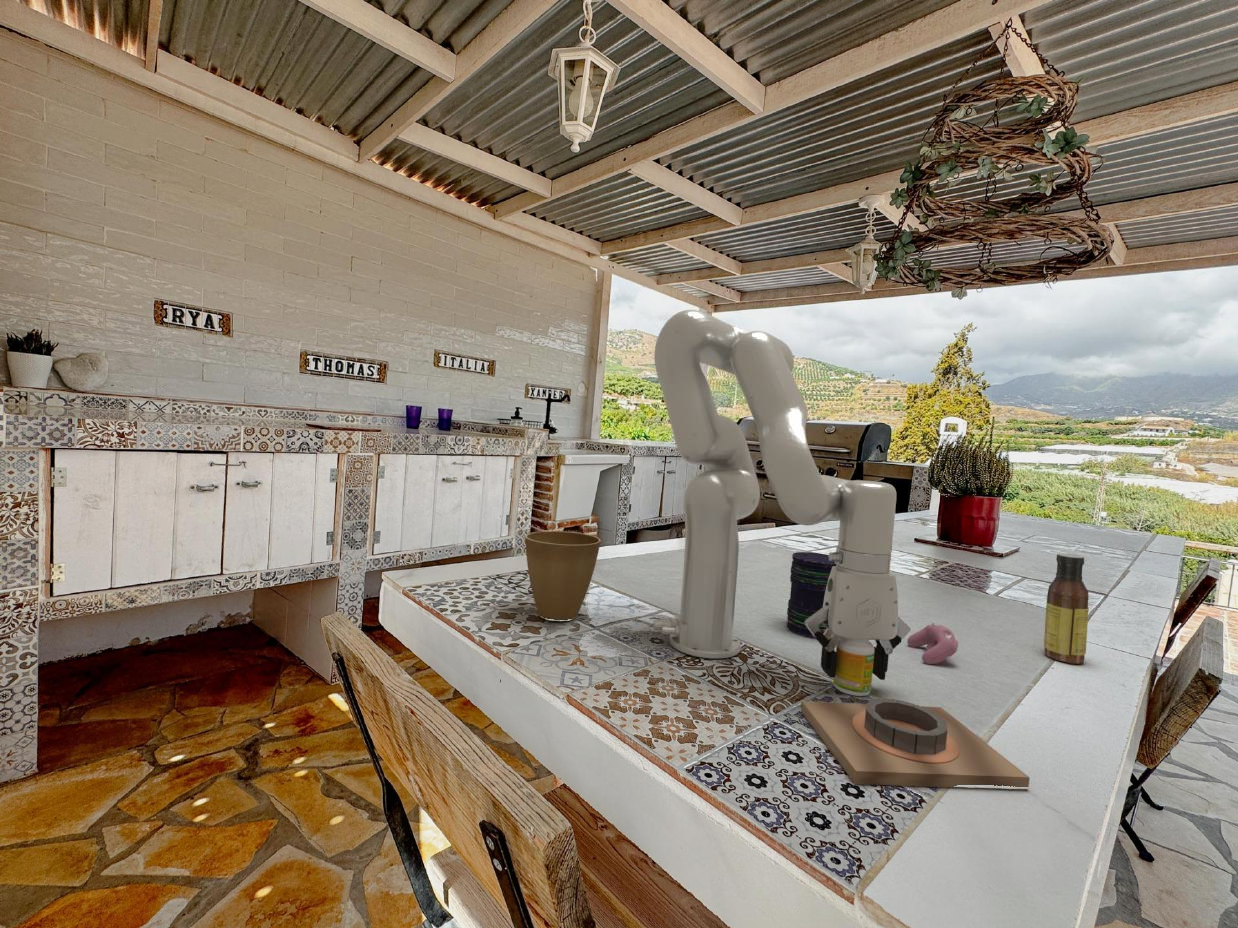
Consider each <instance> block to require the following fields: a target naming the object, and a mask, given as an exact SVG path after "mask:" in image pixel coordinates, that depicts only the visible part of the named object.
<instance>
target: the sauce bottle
mask: <svg viewBox="0 0 1238 928" xmlns="http://www.w3.org/2000/svg"><path fill="white" fill-rule="evenodd" d="M1056 562H1057V563H1056V564H1057V565H1056V573H1055V578H1053V581H1052V582H1051V583H1050V584H1049V586H1048V591H1047V594H1046V595H1047V596H1046V608H1045V617H1044V619H1045V620H1044V621H1045V622H1044V637H1043V638H1044V639H1043V647H1044V654H1045V655H1046V656H1047V657H1048V658H1050V659H1052V660H1055V661H1058V662H1062V663H1066V664H1073V665H1080V664H1081V665H1082V664H1084V661H1085V657H1086V654H1087V644H1088V643H1087V639H1088V622H1089V611H1090V610H1089V590H1088V588H1087V586H1086V585H1085V583H1084V581H1083V567H1084V564H1085V557H1084V556H1083V555H1078V554H1072V553H1062V552H1060V553H1057V554H1056Z"/></svg>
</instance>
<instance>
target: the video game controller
mask: <svg viewBox="0 0 1238 928" xmlns="http://www.w3.org/2000/svg"><path fill="white" fill-rule="evenodd" d="M906 642H907V644H908V646H909V647H910V648H921V647H924V646H926V648H925V650H926V651H925V652H923V654H922V657H921V659H922V661H923V663H924V664H927V665H936V664H939V663H942V662H943V661H945V660H947V659H948V658H950V657H951V656H954V654H956V653H957V651H958V648H959V642H958V640H957V639H956V636H955V634H954V633H953V632H952V630H950V629H949V628H948V627H946V626H943V625H941V624H935V623H934V622H932V623H931V624H928V625H926V626H925V627H924V628H922V629H920V630H919V631H917V632H915V633H912V634H911V635H910V636H908V638H907V641H906Z"/></svg>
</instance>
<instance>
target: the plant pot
mask: <svg viewBox="0 0 1238 928" xmlns="http://www.w3.org/2000/svg"><path fill="white" fill-rule="evenodd" d="M524 540H525V543H524V544H525V553H526V555H525V556H526V561H527V570H528V576H529V582H530V583H529V584H530V588H531V592H532V596H533V600H534V604H535V608H536V611H537V614H538V616H539V615H540V616H542V617H544V618H547V619H554V620H568V619H573V618H575V617H576V616H578V614H579V612H580V610H581V608H582V605H583V604H584V603H583V602H584V600H585V598H586V595H587V594H588V593H587V592H588V590H589V588H590V584H591V581H592V579H593V574H594V571H595V568H596V565H597V560H598V556H599V550H600V546H601V541H602V540H601V539H600V538H599V537H597V536H595V535H590V534H586V533H582V532H574V531H561V530H560V531H559V530H544V531H543V530H542V531H534V532H529V533H526V534H525V536H524ZM576 618H577V617H576ZM576 618H575V619H576Z"/></svg>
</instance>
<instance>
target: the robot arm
mask: <svg viewBox="0 0 1238 928" xmlns="http://www.w3.org/2000/svg"><path fill="white" fill-rule="evenodd" d="M794 362H795V361H794V354H793V353H792V350H791V348H790V347H789V345H788V344H786V343H785V342H784V341H783V340H781V339H779V338H777V337H776V336H774V335H772V334H770V333H768V332H766V331H761V330H753V331H749V330H745V329H742V328H740V327H736V326H734V325H732V324H729V323H727V322H724V321H722V320H721V319H719V318H717V317H715V316H713V315H711V314H709V313H706V312H704V311H701V310H696V309H686V310H682V311H679V312H676V313H675V314H674V315H672V316H671V317H670V318H669V319H668V320H667V321H666V322H665V323H664V325H663V327H662V328H661V329H660V332H659V334H658V336H657V339H656V343H655V347H654V367H655V371H656V375H657V378H658V379H657V380H658V382H659V385H660V389H661V392H662V395H663V398H664V402H665V405H666V411H667V415H668V418H669V422H670V423H669V424H670V427H671V430H672V434H673V438H674V442H675V444H676V445H675V446H676V449H677V451H678V454H679V456H680V457H681V459H683V460H684V461H685V462H686V463H689V464H692V465H698V466H704V468H705V469H704V470H705V471H703V472H701V473H699V474H697V475H696V476H694V477H693V478H692V479H691V480H690V481H689V483H688V484H687V486H686V489H685V491H684V494H683V495H684V496H683V513H684V527H685V534H684V536H685V537H684V539H685V540H684V551H683V552H684V553H683V571H682V572H683V573H682V586H681V587H682V588H681V598H680V600H681V601H680V612H679V613H677V614H675V615H676V617H675V618H671V619H670V620H664V619H655V618H654V619H653V624H652V625H653V626H652V627H653V631H661V635H669V643H670V646H672V647H673V648H674V649H676V650H677V651H679V652H681V653H684V654H686V655H690V656H691V657H692V656H693V657H697V658H702V659H714V660H715V659H728V658H731V657H734V656H737V655H738V654H739V653H740V652H741V646H742V644H741V641H740V640H739V639H738V638H737V637H735V635H733V634H734V633H733V631H734V623H735V622H734V619H735V607H736V597H737V596H736V594H737V581H738V580H737V579H738V571H739V570H738V569H739V552H740V551H739V550H740V540H739V530H738V520H741V519H742V520H743V519H745V518H747V517H749V516H750V515H752V514H753V513H754V511H756V509H757V507H758V506H759V502H760V499H761V491H760V485H759V481H758V477H757V473H756V469H755V466H754V463H753V460H752V456H751V453H750V449H749V446H748V443H747V439H746V436H745V434H744V433H743V432H744V431H743V430H742V429H741V428H740V426H739V424H737V422H735V421H734V419H732V418H730V417H727V416H724V415H720V414H719V413H718V410H717V408H716V404H715V402H714V398H713V394H712V391H711V387H710V384H709V383H708V380H707V377H706V376H705V374H704V372H703V370H702V367H701V364H704V365H706V366H709V367H711V368H712V367H713V368H715V369H717V370H718V369H719V370H721V371H724V372H726V373H729V374H731V375H733V376H735V378H736V381H737V383H738V385H739V387H740V389H741V392H742V395H743V397H744V400H745V401H746V403H747V407H748V409H749V410H750V413H751V416H752V418H753V420H754V422H755V423H754V424H755V426H756V428H757V431H758V436H757V437H758V444H759V449H760V455H761V457H760V458H761V460H762V461H761V462H762V464H763V468H764V469H763V470H764V471H765V474H766V477H767V479H768V482H769V484H770V487H771V489H772V491H773V494H774V496H775V498H776V501H777V503H778V504H779V507H780V509H781V511H782V512H783V513H784V514H785V515H786V517H787V518H789V519H790V520H791V521H793V523H796V524H798V525H803V526H813V525H819V524H821V523H824V522H829V521H839V529H838V541H837V547H836V548H835V549H836V550H835V551H834V552H833V551H831V552H829V553H828V555H829V560H830V561H834V562H835V564H836V566H833V567H832V569H831V572H830V575H829V579H828V582H827V586H826V591H825V596H824V602H823V608H821V609H820V610H819V611H817V612H816V613H815V614H813V615H812V616H810V617H809V618H808V619H806V620H805V625H806V626H807V628H808V629H809V630H810V632H811V633H812V635H813V636H814V637H815V638H816V639H815V640H816V641H817V642H818V643H819V644H820V646H821V657H820V667H821V669H822V671H823V672H824V674H826V675H827V676H828V677H829V678H832V679H834V677H835V674H836V663H837V653H836V650H835V649H836V646H837V644H838V642H839V641H840V639H841V638H848V639H867V640H869V641H870V640H871V641H874V643H875V646H874V661H873V672H872V675H874V676H875V677H876V678H878V679H879V680H881V681H885V680H886V673H887V672H888V665H889V657H890V655H892V654H893V653H894V650H895V648H896V647H897V646H899V644H901V643H902V639H905V637H906V636H908V634H909V633H910V632H911V627H910V626H909V625H908V624H907V623H905V621H904V620H903V619H902V618H900V617H899V596H898V585H897V579H896V574H895V573H894V572H891V571H890V570H891V561H892V560H891V559H892V551H893V537H894V529H895V527H894V526H895V515H896V504H897V491H896V488H895V487H894V486H893V484H890V483H887V482H882V481H873V480H861V479H856V480H855V479H854V480H849V479H844V478H839V477H835V476H832V475H831V476H830V475H826V474H825V475H824V474H820V472H819V471H820V470H819V469H818V467H817V465H816V463H815V462H816V461H815V459H814V458H813V456H812V453H811V450H810V448H809V443H808V440H807V435H806V434H807V433H806V426H807V420H808V417H809V416H808V414H809V413H808V407H807V404H806V402H805V399H804V397H803V395H802V394H801V391H800V389H799V387H798V384H797V382H796V380H795V378H794V376H793V374H792V372H793V369H794V365H795V363H794ZM820 623H822V624H823V626H825V627H826V628H827V629H826V630H825V632H824V633H823V634H822V632H821V631H820V629H819V628H818V626H819V624H820Z"/></svg>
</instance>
